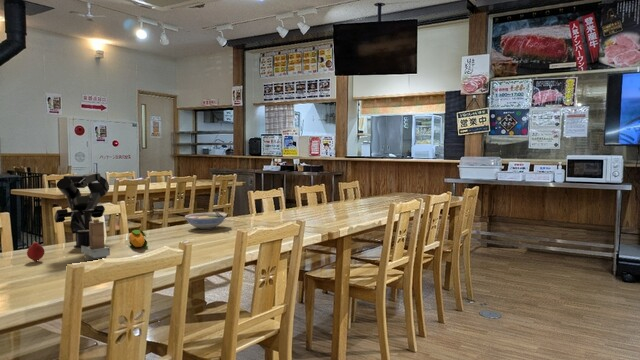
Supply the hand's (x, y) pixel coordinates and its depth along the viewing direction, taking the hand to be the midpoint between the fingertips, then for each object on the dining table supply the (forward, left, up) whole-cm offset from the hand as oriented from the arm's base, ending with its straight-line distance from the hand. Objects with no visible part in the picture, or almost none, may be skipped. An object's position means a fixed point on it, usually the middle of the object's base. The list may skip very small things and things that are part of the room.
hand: (85, 229), depth 191 cm
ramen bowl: (+18, +69, -11) cm, 73 cm away
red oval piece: (-11, -15, -11) cm, 21 cm away
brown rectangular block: (+11, -7, -7) cm, 14 cm away
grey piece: (+9, -6, -11) cm, 15 cm away
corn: (+12, +18, -11) cm, 24 cm away
